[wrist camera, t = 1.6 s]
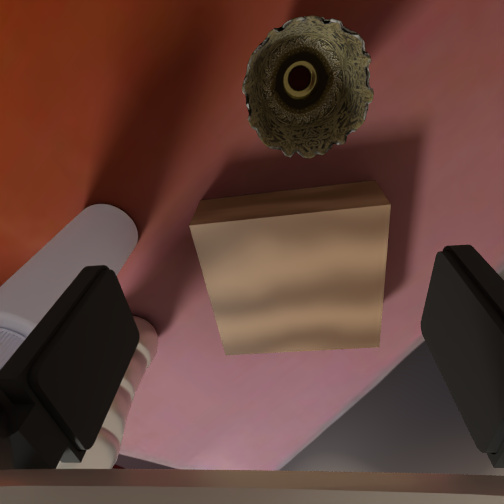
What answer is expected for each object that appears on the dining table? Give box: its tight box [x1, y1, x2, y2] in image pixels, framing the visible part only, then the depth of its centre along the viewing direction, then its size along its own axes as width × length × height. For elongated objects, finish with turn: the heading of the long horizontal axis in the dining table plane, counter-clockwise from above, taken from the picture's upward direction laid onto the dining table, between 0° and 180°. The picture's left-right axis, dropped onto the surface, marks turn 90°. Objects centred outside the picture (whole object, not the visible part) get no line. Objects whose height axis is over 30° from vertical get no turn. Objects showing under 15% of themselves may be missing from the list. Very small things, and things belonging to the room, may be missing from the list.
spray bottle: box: [0, 204, 138, 370], centre depth 25 cm, size 6×6×22 cm
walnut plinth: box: [189, 180, 391, 355], centre depth 33 cm, size 16×16×5 cm
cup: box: [242, 16, 374, 158], centre depth 23 cm, size 8×7×8 cm
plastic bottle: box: [56, 316, 158, 469], centre depth 34 cm, size 6×7×20 cm
